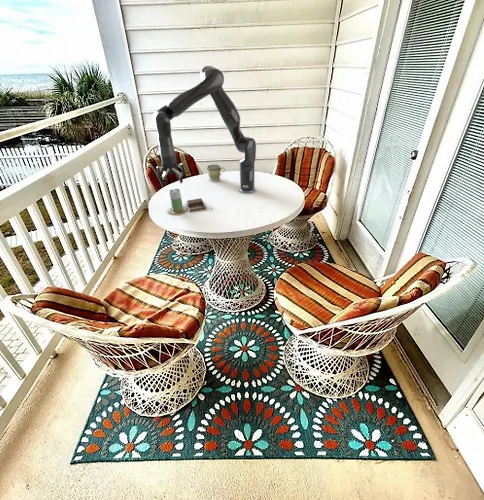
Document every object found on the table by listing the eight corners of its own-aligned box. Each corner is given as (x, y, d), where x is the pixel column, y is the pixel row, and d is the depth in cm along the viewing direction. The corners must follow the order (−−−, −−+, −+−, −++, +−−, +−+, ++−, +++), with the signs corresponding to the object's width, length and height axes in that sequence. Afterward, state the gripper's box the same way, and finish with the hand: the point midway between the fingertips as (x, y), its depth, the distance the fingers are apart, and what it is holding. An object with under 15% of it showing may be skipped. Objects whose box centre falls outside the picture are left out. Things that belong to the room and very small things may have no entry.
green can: (169, 195, 161) (168, 186, 149) (179, 194, 163) (179, 184, 151) (173, 215, 159) (173, 207, 147) (183, 213, 161) (184, 205, 149)
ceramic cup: (206, 182, 195) (204, 168, 190) (209, 177, 203) (208, 164, 198) (224, 183, 193) (223, 169, 188) (226, 178, 201) (226, 164, 196)
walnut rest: (187, 204, 165) (186, 200, 163) (201, 202, 167) (201, 198, 166) (190, 211, 157) (189, 207, 156) (205, 209, 159) (205, 204, 158)
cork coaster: (175, 206, 164) (175, 205, 164) (189, 208, 161) (189, 207, 161) (165, 213, 157) (165, 212, 157) (180, 215, 154) (180, 214, 153)
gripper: (154, 157, 136) (160, 188, 145) (182, 154, 140) (187, 184, 149) (153, 154, 142) (159, 184, 151) (180, 150, 146) (184, 180, 155)
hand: (173, 184), depth 150 cm, fingers open, 8 cm apart
